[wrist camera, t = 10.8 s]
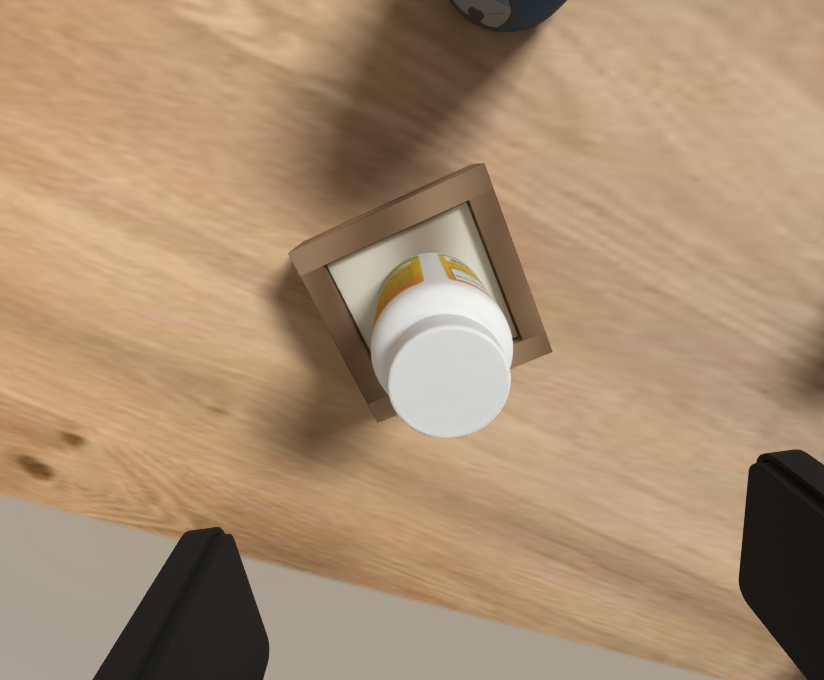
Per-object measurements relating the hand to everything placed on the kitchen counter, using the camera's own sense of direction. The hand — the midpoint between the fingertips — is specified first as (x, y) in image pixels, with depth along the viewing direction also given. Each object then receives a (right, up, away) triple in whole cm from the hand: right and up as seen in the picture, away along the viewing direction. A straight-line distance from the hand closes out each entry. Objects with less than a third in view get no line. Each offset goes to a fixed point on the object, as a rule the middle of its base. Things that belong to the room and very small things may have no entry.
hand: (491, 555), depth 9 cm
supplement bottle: (0, +6, +16) cm, 17 cm away
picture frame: (-1, +7, +19) cm, 20 cm away
